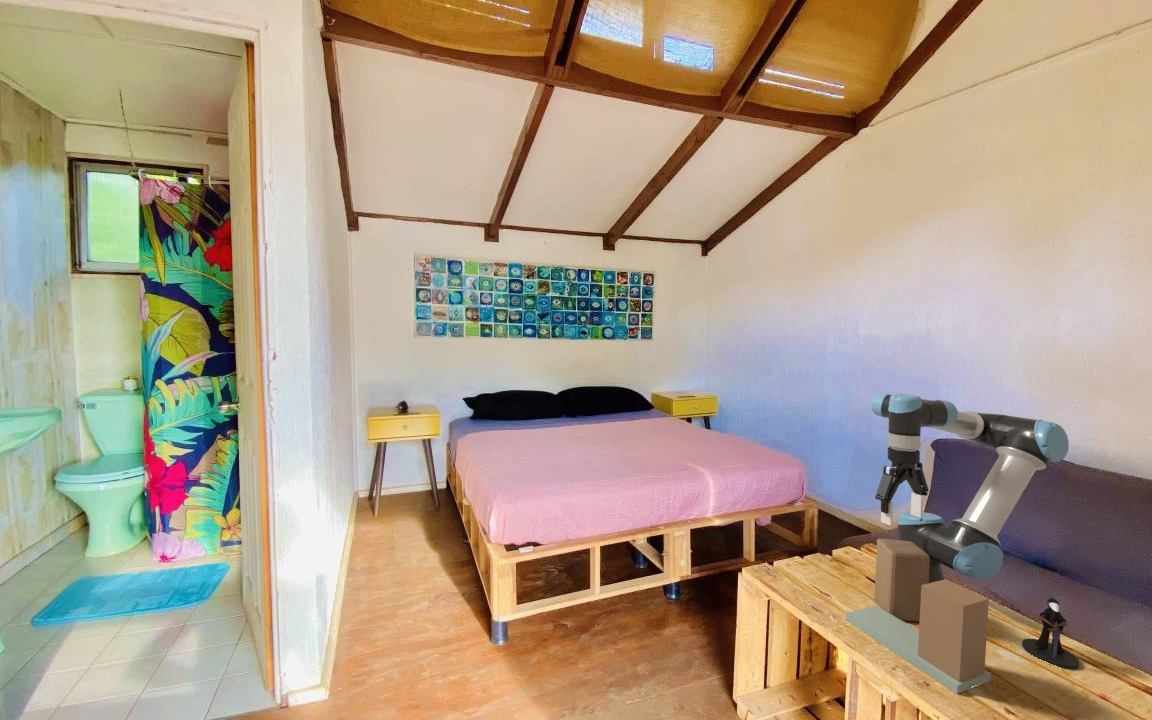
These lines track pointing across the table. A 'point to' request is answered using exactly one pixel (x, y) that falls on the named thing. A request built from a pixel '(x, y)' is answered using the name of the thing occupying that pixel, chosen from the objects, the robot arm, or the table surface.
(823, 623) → the table surface
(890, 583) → the wooden block
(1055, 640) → the figurine
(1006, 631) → the table surface
